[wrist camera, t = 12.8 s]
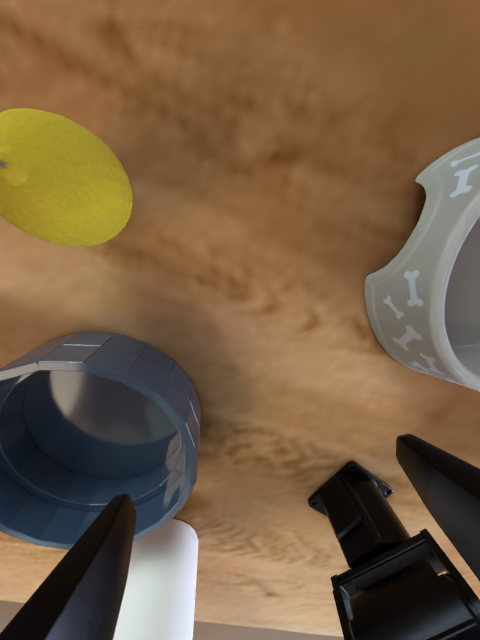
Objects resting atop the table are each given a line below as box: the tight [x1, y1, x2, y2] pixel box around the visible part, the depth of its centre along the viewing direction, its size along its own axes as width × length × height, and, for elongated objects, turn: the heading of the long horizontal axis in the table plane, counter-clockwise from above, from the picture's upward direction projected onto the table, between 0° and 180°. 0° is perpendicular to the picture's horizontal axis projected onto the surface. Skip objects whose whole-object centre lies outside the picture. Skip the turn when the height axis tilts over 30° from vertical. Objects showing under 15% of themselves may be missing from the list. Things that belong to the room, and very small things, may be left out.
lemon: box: [0, 108, 133, 247], centre depth 12 cm, size 6×6×8 cm
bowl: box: [0, 332, 201, 550], centre depth 18 cm, size 15×15×5 cm
